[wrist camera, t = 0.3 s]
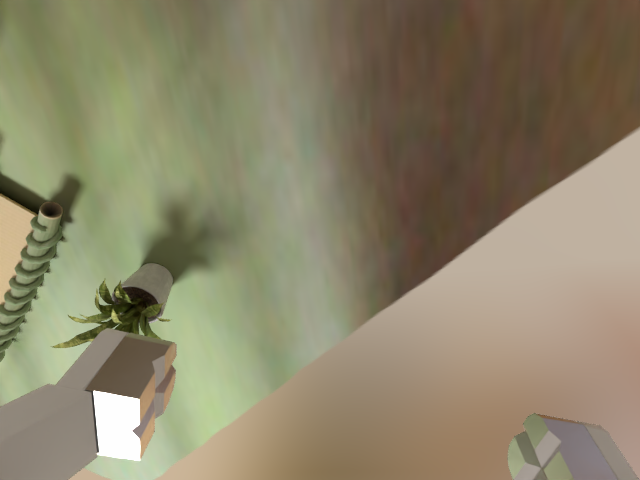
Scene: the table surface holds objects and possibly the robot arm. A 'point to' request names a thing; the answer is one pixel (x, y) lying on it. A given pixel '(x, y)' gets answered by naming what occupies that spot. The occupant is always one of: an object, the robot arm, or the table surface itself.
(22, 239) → the stretcher
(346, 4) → the table surface
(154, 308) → the house plant
